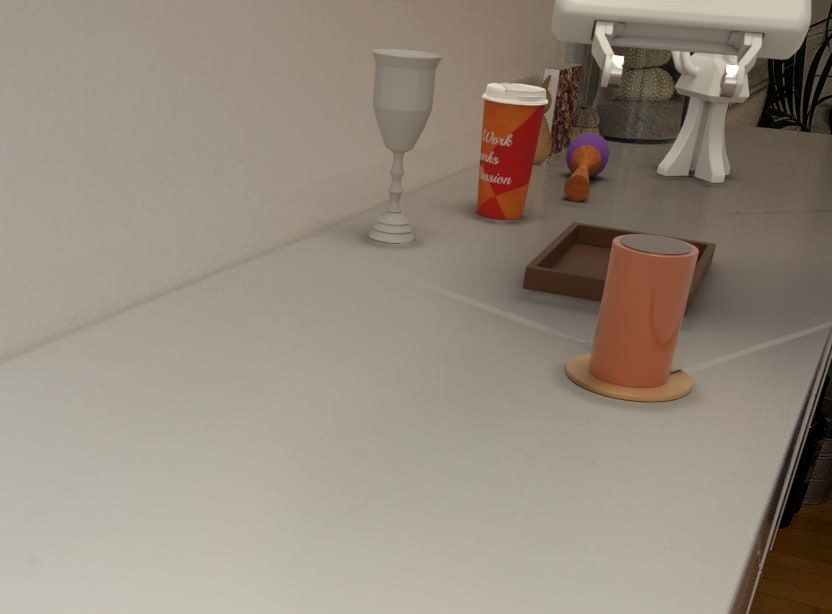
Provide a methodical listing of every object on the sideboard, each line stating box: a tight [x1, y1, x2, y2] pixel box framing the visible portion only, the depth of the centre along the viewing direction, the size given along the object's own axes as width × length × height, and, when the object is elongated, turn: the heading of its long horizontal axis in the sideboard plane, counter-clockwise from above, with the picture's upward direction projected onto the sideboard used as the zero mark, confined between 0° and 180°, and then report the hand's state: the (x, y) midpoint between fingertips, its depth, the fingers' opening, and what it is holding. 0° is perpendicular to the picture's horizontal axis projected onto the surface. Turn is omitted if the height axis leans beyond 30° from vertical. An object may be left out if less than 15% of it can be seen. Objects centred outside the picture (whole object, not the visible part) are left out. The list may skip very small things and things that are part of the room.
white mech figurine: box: [656, 50, 750, 184], centre depth 157 cm, size 12×13×18 cm
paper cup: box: [476, 82, 549, 220], centre depth 129 cm, size 8×8×14 cm
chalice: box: [368, 48, 443, 244], centre depth 115 cm, size 7×7×18 cm
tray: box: [522, 221, 717, 317], centre depth 110 cm, size 22×16×3 cm
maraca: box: [563, 131, 610, 203], centre depth 148 cm, size 6×6×20 cm
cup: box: [588, 234, 699, 388], centre depth 84 cm, size 6×6×10 cm
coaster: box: [565, 352, 693, 403], centre depth 87 cm, size 10×10×1 cm
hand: (670, 87), depth 86 cm, fingers open, 8 cm apart
